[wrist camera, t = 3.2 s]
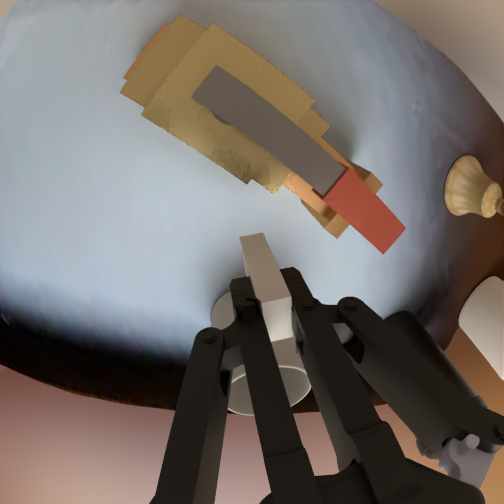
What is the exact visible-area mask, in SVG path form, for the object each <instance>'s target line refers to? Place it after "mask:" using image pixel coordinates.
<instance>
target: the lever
mask: <svg viewBox="0 0 504 504" xmlns="http://www.w3.org/2000/svg"><path fill="white" fill-rule="evenodd" d="M191 98H193V99H194V100H196V101H197V102H199V103H200V104H202V105H203V106H205V107H206V108H208V109H209V110H211V111H212V113H213V115H214V116H215V117H216V118H217V119H218V120H219V121H221V122H222V123H224V124H227V125H232V126H234V127H235V128H237V129H238V130H239V131H241V132H242V133H244V134H245V135H246V136H248V137H249V138H250V139H252V140H253V141H254V142H256V143H257V144H258V145H260V146H261V147H262V148H264V149H265V150H266V151H268V152H269V153H270V154H272V155H273V156H274V157H276V158H277V159H278V160H279V161H281V162H282V163H283V164H284V165H286V166H287V167H288V168H290V169H291V170H292V171H293V172H295V173H296V174H297V175H298V176H300V177H301V178H302V179H303V180H304V181H306V182H307V183H308V184H309V185H310V186H312V187H313V189H312V191H313V192H314V193H315V194H316V195H317V196H318V197H319V198H321V199H322V200H323V201H324V202H325V203H326V204H327V205H329V206H330V207H331V208H332V209H333V210H335V211H336V212H337V213H338V214H339V215H340V216H341V217H343V218H344V219H345V220H346V221H347V222H348V223H349V224H351V225H352V226H353V227H354V228H355V229H356V230H357V231H358V232H359V233H361V234H362V235H363V236H364V237H365V238H366V239H367V240H368V241H369V242H370V243H372V244H373V245H374V246H375V247H376V248H377V249H378V250H379V251H380V252H381V253H382V254H384V253H385V252H386V251H387V250H388V249H389V248H390V246H391V245H392V244H393V243H394V242H395V241H396V240H397V238H398V237H399V236H400V235H401V234H402V232H403V231H404V230H405V229H406V228H405V227H404V225H403V224H402V223H401V222H400V221H399V220H398V218H397V217H396V216H395V215H394V214H393V213H392V212H391V211H390V209H389V208H388V207H387V206H386V205H385V204H384V203H383V202H382V201H381V200H380V198H379V197H378V196H377V195H376V194H375V193H374V192H373V191H372V190H371V189H370V188H369V187H368V186H367V185H366V184H365V183H364V182H363V181H362V180H361V179H360V178H359V177H358V176H357V175H356V174H355V173H354V172H353V171H352V170H351V169H350V168H349V167H347V166H346V165H344V164H342V163H340V162H338V161H337V160H336V159H334V158H333V157H332V156H331V155H330V154H329V153H328V152H327V151H326V150H325V149H324V148H323V147H321V146H320V145H319V144H318V143H317V142H316V141H315V140H314V139H312V138H311V137H310V136H309V135H308V134H307V133H306V132H304V131H303V130H302V129H301V128H300V127H299V126H297V125H296V124H295V123H294V122H293V121H291V120H290V119H289V118H288V117H287V116H285V115H284V114H283V113H282V112H280V111H279V110H278V109H277V108H275V107H274V106H273V105H272V104H270V103H269V102H268V101H266V100H265V99H264V98H263V97H261V96H260V95H259V94H257V93H256V92H255V91H253V90H252V89H251V88H250V87H249V86H247V85H246V84H244V83H242V82H241V81H240V80H238V79H237V78H235V77H234V76H233V75H231V74H230V73H228V72H227V71H225V70H224V69H222V68H221V67H219V66H218V65H216V66H215V67H214V68H213V69H212V71H211V72H210V73H209V74H208V76H207V77H206V78H205V79H204V81H203V82H202V83H201V84H200V86H199V87H198V88H197V89H196V91H195V92H194V93H193V95H192V96H191Z"/></svg>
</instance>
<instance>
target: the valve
mask: <svg viewBox="0 0 504 504" xmlns="http://www.w3.org/2000/svg"><path fill="white" fill-rule="evenodd" d="M216 65H218V66H219V67H221V68H222V69H224V70H225V71H227V72H228V73H230V74H231V75H233V76H234V77H235V78H237V79H238V80H240V81H241V82H242V83H244V84H246V85H247V86H249V87H250V88H251V89H252V90H253V91H255V92H256V93H257V94H259V95H260V96H261V97H263V98H264V99H265V100H266V101H268V102H269V103H270V104H272V105H273V106H274V107H275V108H277V109H278V110H279V111H280V112H282V113H283V114H284V115H285V116H287V117H288V118H289V119H290V120H291V121H293V122H294V123H295V124H296V125H297V126H299V127H300V128H301V129H302V130H303V131H304V132H306V133H307V134H308V135H309V136H310V137H311V138H312V139H314V140H315V141H316V142H317V143H318V144H319V145H320V146H321V147H323V148H324V149H325V150H326V151H327V152H328V153H329V154H330V155H331V156H332V157H333V158H334V159H336V160H337V161H338V162H340V163H342V164H344V165H346V166H347V167H349V168H350V169H351V170H352V171H353V172H354V173H355V174H356V175H357V176H358V177H359V178H360V179H361V180H362V181H363V182H364V183H365V184H366V185H367V186H368V187H369V188H370V189H371V190H372V191H373V192H374V193H375V194H376V193H377V192H378V190H379V189H380V188H381V187H382V185H383V184H382V183H381V182H380V181H379V180H378V179H377V178H376V177H375V176H374V174H373V173H372V172H370V171H368V170H366V169H364V168H362V167H360V166H358V165H357V164H355V163H353V162H351V161H349V160H347V159H345V158H343V157H342V156H341V155H340V154H339V153H338V152H337V151H336V150H335V149H334V148H333V147H332V146H330V145H329V144H328V143H327V142H326V141H325V140H324V139H323V138H322V136H323V135H324V133H325V132H326V131H327V130H328V129H329V127H330V125H329V124H328V123H327V122H326V121H325V120H324V119H323V118H322V117H321V116H319V115H318V114H317V113H316V112H315V111H314V110H313V109H312V108H311V106H312V105H313V103H314V102H315V100H314V99H313V98H312V97H311V96H310V95H308V94H307V93H306V92H305V91H304V90H303V89H302V88H300V87H299V86H298V85H297V84H296V83H294V82H293V81H292V80H291V79H290V78H288V77H287V76H286V75H285V74H284V73H282V72H281V71H280V70H278V69H277V68H276V67H275V66H273V65H272V64H271V63H270V62H268V61H267V60H266V59H264V58H263V57H262V56H260V55H259V54H258V53H256V52H255V51H253V50H252V49H251V48H249V47H248V46H246V45H245V44H244V43H242V42H241V41H239V40H238V39H236V38H235V37H233V36H232V35H230V34H229V33H227V32H226V31H224V30H223V29H221V28H220V27H218V26H216V25H215V24H212V25H211V26H210V27H209V28H208V29H207V30H206V29H204V28H203V27H201V26H199V25H198V24H196V23H194V22H193V21H191V20H189V19H188V18H186V17H184V16H182V15H181V14H180V15H179V16H178V17H177V18H176V19H175V20H174V21H173V23H172V24H171V25H170V26H167V25H166V24H164V25H163V26H162V27H161V29H160V30H159V31H158V32H157V33H156V35H155V36H154V37H153V38H152V39H151V41H150V42H149V43H148V44H147V46H146V47H145V48H144V50H143V51H142V52H141V54H140V55H139V56H138V58H137V59H136V60H135V62H134V63H133V64H132V66H131V67H130V69H129V70H128V71H127V73H126V74H125V76H124V77H123V78H124V79H126V80H127V82H126V83H125V85H124V86H123V88H122V89H121V91H120V92H119V93H121V94H123V95H124V96H126V97H128V98H130V99H131V100H133V101H135V102H136V103H138V104H140V105H141V106H143V107H145V110H144V111H143V113H142V114H141V115H142V116H143V117H145V118H147V119H148V120H150V121H151V122H153V123H155V124H156V125H158V126H159V127H161V128H163V129H164V130H166V131H167V132H169V133H171V134H172V135H174V136H175V137H177V138H178V139H180V140H182V141H183V142H185V143H186V144H188V145H189V146H191V147H192V148H194V149H195V150H197V151H198V152H200V153H201V154H203V155H204V156H206V157H207V158H209V159H210V160H212V161H213V162H215V163H216V164H218V165H219V166H221V167H222V168H224V169H225V170H227V171H228V172H230V173H231V174H233V175H234V176H236V177H237V178H238V179H240V180H241V181H243V182H244V183H246V184H248V183H249V181H250V180H251V179H253V180H255V181H256V182H258V183H259V184H260V185H262V186H263V187H265V188H266V189H267V190H269V191H270V192H271V193H273V194H275V193H276V191H277V190H278V189H279V188H280V187H281V185H282V184H283V185H284V186H285V187H287V188H288V189H289V190H291V191H292V192H293V193H295V194H296V195H297V196H298V197H300V198H301V199H302V200H303V201H302V202H301V203H302V204H303V205H304V206H305V207H306V208H307V209H308V210H309V212H310V213H311V214H312V215H313V216H314V217H315V218H316V219H317V221H318V222H319V223H320V224H321V225H322V226H323V227H324V229H326V230H327V231H328V232H329V233H331V234H332V235H333V236H334V237H336V238H338V237H339V236H340V235H341V234H342V233H343V232H344V230H345V229H346V228H347V227H348V226H349V225H350V224H349V223H348V222H347V221H346V220H345V219H344V218H343V217H341V216H340V215H339V214H338V213H337V212H336V211H335V210H333V209H332V208H331V207H330V206H329V205H327V204H326V203H325V202H324V201H323V200H322V199H321V198H319V197H318V196H317V195H316V194H315V193H314V192H313V191H312V189H313V187H312V186H310V185H309V184H308V183H307V182H306V181H304V180H303V179H302V178H301V177H300V176H298V175H297V174H296V173H295V172H293V171H292V170H291V169H290V168H288V167H287V166H286V165H284V164H283V163H282V162H281V161H279V160H278V159H277V158H276V157H274V156H273V155H272V154H270V153H269V152H268V151H266V150H265V149H264V148H262V147H261V146H260V145H258V144H257V143H256V142H254V141H253V140H252V139H250V138H249V137H248V136H246V135H245V134H244V133H242V132H241V131H239V130H238V129H237V128H235V127H234V126H232V125H227V124H224V123H222V122H221V121H219V120H218V119H217V118H216V117H215V116H214V115H213V113H212V111H211V110H209V109H208V108H206V107H205V106H203V105H202V104H200V103H199V102H197V101H196V100H194V99H193V98H191V96H192V95H193V93H194V92H195V91H196V89H197V88H198V87H199V86H200V84H201V83H202V82H203V81H204V79H205V78H206V77H207V76H208V74H209V73H210V72H211V71H212V69H213V68H214V67H215V66H216Z"/></svg>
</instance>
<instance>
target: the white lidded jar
mask: <svg viewBox="0 0 504 504" xmlns="http://www.w3.org/2000/svg"><path fill="white" fill-rule="evenodd" d="M459 326H460V327H461V328H462V330H463V331H464V332H465V333H466V334H467V336H468V337H469V338H470V339H471V340H472V342H473V343H474V344H475V345H476V347H477V348H478V349H479V350H480V352H481V353H482V354H483V355H484V357H485V358H486V359H487V361H488V362H489V363H490V364H491V366H492V367H493V368H494V370H495V371H496V372H497V374H498V375H499V376H500V378H501V379H503V380H504V282H503V281H502V280H501V279H500V278H498V277H496V276H492V277H489V278H487V279H485V280H484V281H483V282H482V283H480V284H479V285H478V286H477V287H476V288H475V290H474V291H473V292H472V293H471V294H470V296H469V297H468V299H467V301H466V302H465V304H464V306H463V308H462V310H461V312H460V315H459Z"/></svg>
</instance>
